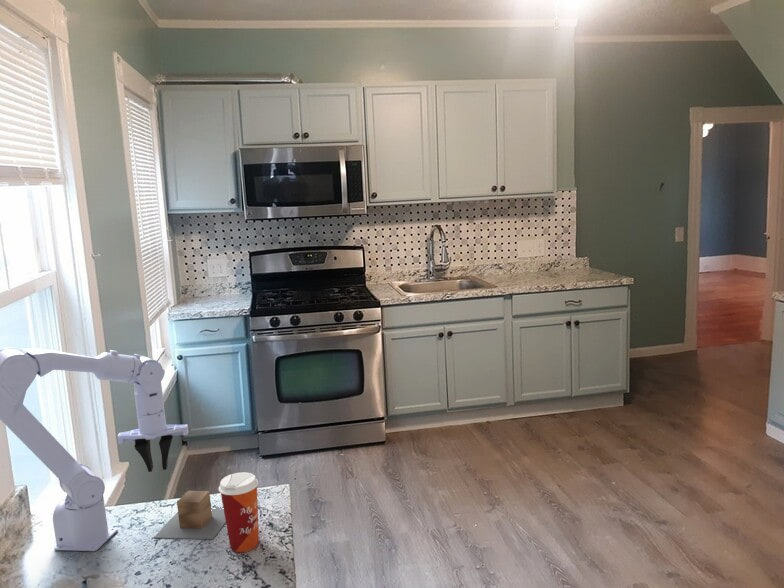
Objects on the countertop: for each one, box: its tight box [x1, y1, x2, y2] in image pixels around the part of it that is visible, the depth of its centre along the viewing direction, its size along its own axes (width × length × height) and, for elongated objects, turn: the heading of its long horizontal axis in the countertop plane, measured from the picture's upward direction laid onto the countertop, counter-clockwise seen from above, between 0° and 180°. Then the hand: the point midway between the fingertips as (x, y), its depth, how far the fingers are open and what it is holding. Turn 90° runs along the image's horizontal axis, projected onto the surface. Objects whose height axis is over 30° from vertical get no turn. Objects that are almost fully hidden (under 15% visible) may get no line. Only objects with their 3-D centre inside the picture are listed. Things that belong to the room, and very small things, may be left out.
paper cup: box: [218, 471, 260, 553], centre depth 122 cm, size 8×8×14 cm
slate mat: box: [153, 506, 226, 540], centre depth 133 cm, size 13×13×1 cm
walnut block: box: [176, 490, 212, 529], centre depth 133 cm, size 5×5×6 cm
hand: (158, 469), depth 137 cm, fingers open, 2 cm apart
